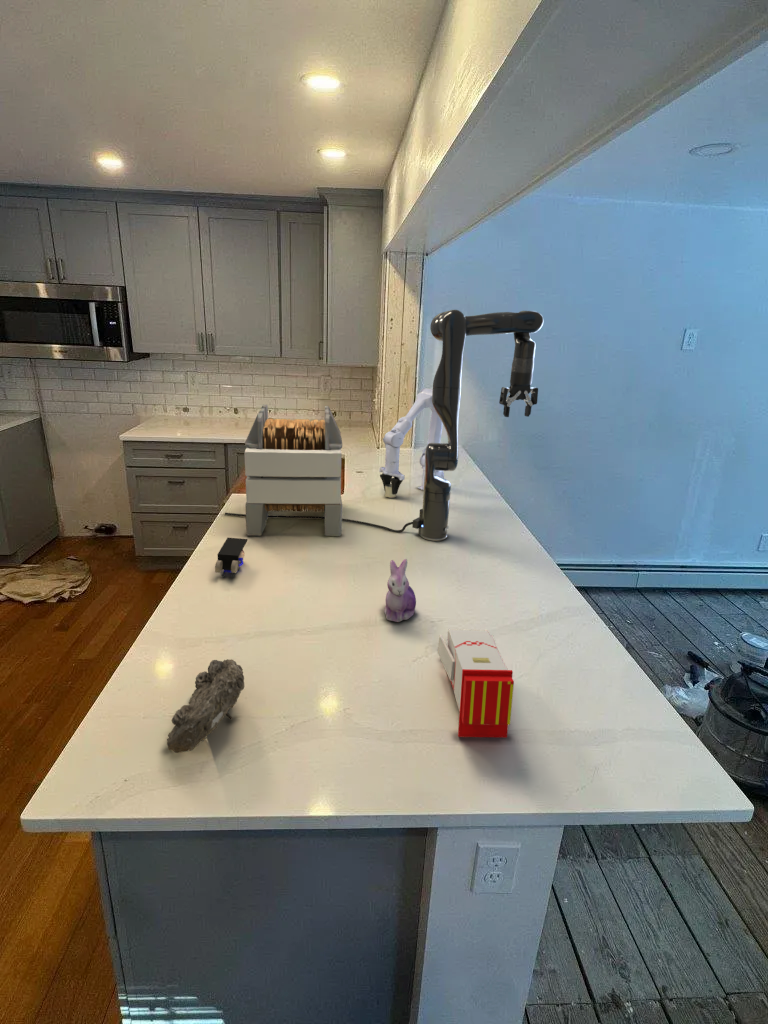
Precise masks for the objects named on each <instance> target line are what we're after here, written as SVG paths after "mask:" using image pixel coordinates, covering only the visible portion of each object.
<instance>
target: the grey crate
mask: <svg viewBox="0 0 768 1024" xmlns="http://www.w3.org/2000/svg"><path fill="white" fill-rule="evenodd" d="M341 433H342V432H341V430H340V428H339V426H338V424H337V421H336V419H335V417H334V415H333V413H332V410H331V408H330V406H329V405H325V406H324V419H320V420H319V419H307V418H306V419H305V418H302V419H301V418H295V419H290V418H269V408H268V404H262V405H261V407H260V409H259V411H258V413H257V415H256V417H255V419H254V422H253V424H252V426H251V428H250V430H249V432H248V435H247V436H246V439H245V442H244V444H245V445H244V446H245V450H244V476H245V477H246V478H245V497H246V501H245V505H244V506H245V507H244V508H245V509H244V511H245V514H246V517H245V524H246V525H245V526H246V536H248V537H251V536H260V537H261V536H262V535H263V533H264V531H265V528H266V526H267V521H268V519H269V518H268V515H269V512H275V513H277V512H279V513H280V512H293V513H294V512H297V513H298V512H299V513H301V512H309V513H310V512H313V513H314V512H315V513H316V512H318V513H319V512H322V513H323V515H324V516H323V517H324V519H323V520H324V521H323V522H324V536H328V537H329V536H331V537H332V536H333V537H334V536H335V537H340V536H343V521H342V519H343V500H342V459H343V458H342V455H343V454H342V448H343V439H342V434H341Z"/></svg>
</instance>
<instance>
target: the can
mask: <svg viewBox="0 0 768 1024" xmlns="http://www.w3.org/2000/svg"><path fill="white" fill-rule="evenodd" d="M384 496H385V498H396V497H397V494H394V495H393V494H392V485H391V483H390V484H386V486H385V490H384Z"/></svg>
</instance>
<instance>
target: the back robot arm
mask: <svg viewBox="0 0 768 1024" xmlns="http://www.w3.org/2000/svg"><path fill="white" fill-rule="evenodd" d="M432 391H433V388H429V387H422V388H421V389H420V391H419V393H417V394H416V400H415V401H414V402H413V405H412V406H411V408H410V409H409V410H408V412H407V413H406V415H405V416H401V417H400V418H398V420H397V422H396V423H395V425H394V426H393V427H391V429H390V431H387V432H386V433H385V434H384V436H383V438H382V442H383V444H384V448H385V457H384V466H379V467H378V471H379V477H380V479H381V481H382V482H381V483H382V486H383V491H385V486H386V484H391V485H392V494H393V495H394V494H396V495H397V494H398V492H399V489H400V487H401V484H402V482H403V481H405V474H403V473H402V472H401V471H400V452H401V451H400V450H401V446H402V445H403V444H404V439H405V437H406V435H407V434H408V432H409V431H410V430H411V428H413V421H414V420H415V419H416V418H417V417H418V416H419V415H420V414H421V412H422V411H424V410H425V409H428V408H429V410H430V411H431V414H430V421H429V429H428V436H427V443H426V446H427V445H428V444H429V443H441V441H442V435H443V427H444V425H443V423H442V421H441V419H440V418H439V416H438V414H437V412H436V411H435V409H434V406H433V403H432ZM421 451H422V452H421V455H420V457H419V465H420V466H421V469H422V473H421V485H420V486H419V485H418V486H417V487H416V488H417V489H419V490H421V491H424V477H425V451H426V447H425V448H424V449H423V450H421ZM435 474H436V475H437V476H439V477H441V478H444V479H445V471H435Z"/></svg>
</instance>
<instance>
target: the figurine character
mask: <svg viewBox="0 0 768 1024" xmlns="http://www.w3.org/2000/svg"><path fill="white" fill-rule="evenodd" d="M247 542H248V538H240V537H226V539H225V541H224V543H223V544H222V546H221V547H220V549H219V551H218V552H217V560H216V562H215V564H214V572H215V573H221V577H222V578H224V577H225V576H226V574H227V573H230V574H231V573H232V574H231V578H234V577H235V575H236V573H237V572H239V571H240V567H242V566H243V565H244V564H245V562H244V558H245V551H244V547H245V546H246V544H247Z"/></svg>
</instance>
